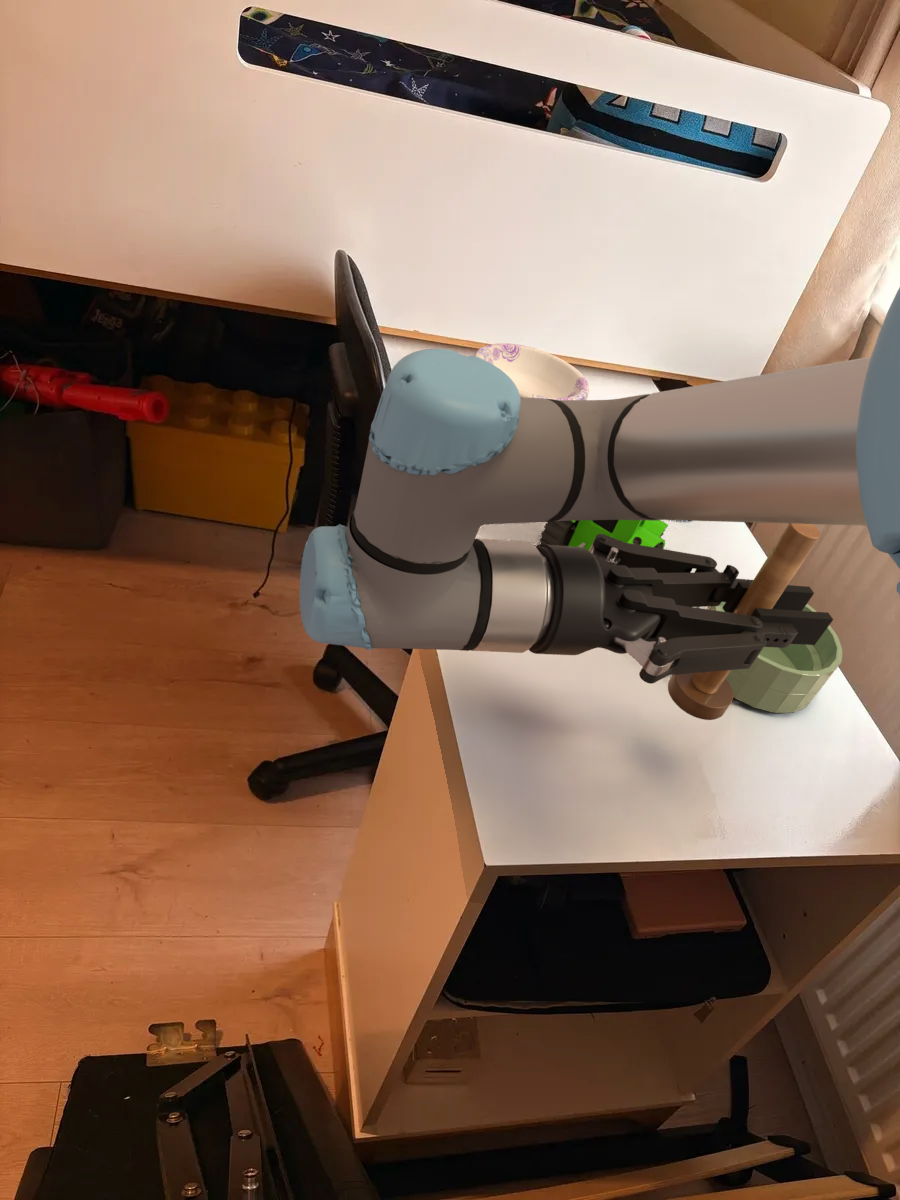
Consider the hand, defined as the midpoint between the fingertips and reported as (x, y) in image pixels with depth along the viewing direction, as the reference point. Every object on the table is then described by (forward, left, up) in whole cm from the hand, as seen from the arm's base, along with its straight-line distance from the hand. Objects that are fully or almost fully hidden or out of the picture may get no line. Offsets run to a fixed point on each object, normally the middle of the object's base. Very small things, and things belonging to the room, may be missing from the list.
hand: (811, 615), depth 69 cm
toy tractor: (+28, 0, -18) cm, 33 cm away
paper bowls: (+55, +3, -18) cm, 58 cm away
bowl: (+12, -11, -18) cm, 24 cm away
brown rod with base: (0, +6, -10) cm, 11 cm away
